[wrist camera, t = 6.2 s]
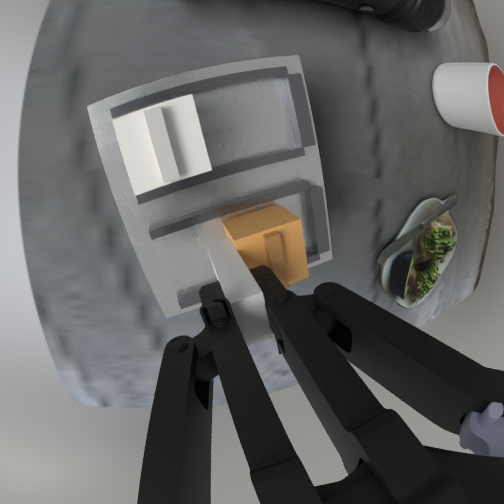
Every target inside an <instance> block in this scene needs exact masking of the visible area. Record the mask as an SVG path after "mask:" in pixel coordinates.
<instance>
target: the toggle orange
mask: <svg viewBox="0 0 504 504" xmlns="http://www.w3.org/2000/svg"><path fill="white" fill-rule="evenodd" d="M222 224H223V228H224V231H225V235H226V238H227V237H229V238H230V240H231V242H232V243H233V245H234V247H235V248H236V250H237V251H238V253H239V255H240V256H241V258H242V260H243V261H244V263H245V264H246V266H247V268H248V269H252V268H255V267H258V266H260V265H265V266H267V267H269V268H270V269H271V270H272V271H273V273H274V274H275V275H276V277H277V278H278V279H279V280H280V282H281V283H282V284H283V286H284V287H285V288H286V289H288V288H290V287H289V284H292V283H294V282H297V281H299V280H302V279H305V278H307V277H309V272H308V264H307V257H306V250H305V243H304V237H303V230H302V224H301V219H300V218H299V217H297V216H296V215H294V214H293V213H291V212H290V211H288V210H287V209H285V208H284V207H282V206H281V205H279V204H276V205H273V206H269V207H266V208H263V209H260V210H256V211H253V212H250V213H247V214H244V215H240V216H237V217H234V218H231V219H228V220H225V221H222Z"/></svg>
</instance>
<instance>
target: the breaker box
mask: <svg viewBox="0 0 504 504" xmlns="http://www.w3.org/2000/svg"><path fill="white" fill-rule="evenodd" d="M190 94H192V95H193V99H194V103H195V107H196V111H197V114H198V118H199V122H200V126H201V130H202V134H203V138H204V141H205V145H206V149H207V153H208V157H209V160H210V164H211V168H212V170H211V171H208V172H204V173H201V174H198V175H195V176H192V177H188V178H185V179H182V180H179V181H176V182H173V183H170V184H167V185H164V186H161V187H158V188H156V189H153V190H150V191H147V192H144V193H142V194H139V195H136V196H135V194H134V191H133V188H132V185H131V182H130V179H129V176H128V173H127V169H126V166H125V163H124V160H123V157H122V153H121V150H120V146H119V143H118V140H117V136H116V132H115V129H114V125H113V121H112V120H114V119H116V118H119V117H121V116H124V115H127V114H129V113H132V112H135V111H138V110H141V109H143V108H146V107H149V106H152V105H156V104H159V103H162V102H165V101H168V100H172V99H175V98H179V97H182V96H186V95H190ZM87 108H88V112H89V116H90V120H91V124H92V128H93V132H94V135H95V139H96V142H97V146H98V149H99V153H100V156H101V159H102V162H103V166H104V169H105V172H106V175H107V178H108V181H109V184H110V187H111V190H112V193H113V196H114V198H115V201H116V204H117V207H118V209H119V212H120V215H121V217H122V220H123V223H124V225H125V228H126V230H127V233H128V235H129V238H130V240H131V243H132V245H133V247H134V250H135V252H136V254H137V257H138V259H139V261H140V264H141V266H142V268H143V270H144V273H145V275H146V277H147V279H148V281H149V284H150V286H151V288H152V290H153V292H154V294H155V296H156V298H157V300H158V303H159V305H160V307H161V309H162V311H163V313H164V315H165V317H166V318H169V317H172V316H175V315H178V314H181V313H184V312H187V311H190V310H193V309H196V308H199V307H201V305H202V303H201V299H200V295H199V291H200V289H201V286H204V285H207V284H210V283H213V282H216V281H218V280H217V277H216V274H215V271H214V268H213V265H212V262H211V259H210V256H209V253H208V249H207V246H206V244H209V243H212V242H215V241H218V240H221V239H224V238H226V235H225V231H224V228H223V224H222V221H225V220H228V219H231V218H234V217H237V216H240V215H244V214H247V213H250V212H253V211H256V210H260V209H263V208H266V207H269V206H273V205H276V204H279V205H281V206H282V207H284V208H285V209H287V210H288V211H290V212H291V213H293V214H294V215H296V216H297V217H299V218H300V219H301V224H302V230H303V237H304V243H305V250H306V257H307V264H308V268H310V267H313V266H315V265H318V264H321V263H323V262H326V261H328V260H331V259H332V249H331V238H330V229H329V220H328V211H327V203H326V195H325V188H324V181H323V174H322V167H321V161H320V155H319V149H318V143H317V137H316V132H315V126H314V121H313V116H312V111H311V106H310V101H309V97H308V92H307V87H306V83H305V79H304V74H303V70H302V66H301V62H300V58H299V55H292V56H280V57H269V58H261V59H253V60H246V61H239V62H233V63H227V64H222V65H217V66H212V67H207V68H202V69H198V70H193V71H189V72H185V73H181V74H178V75H174V76H170V77H167V78H163V79H160V80H156V81H153V82H150V83H147V84H144V85H141V86H138V87H135V88H132V89H129V90H127V91H124V92H121V93H118V94H116V95H113V96H111V97H108V98H106V99H103V100H101V101H99V102H96V103H94V104H92V105H89V106H87Z"/></svg>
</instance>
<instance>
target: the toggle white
mask: <svg viewBox="0 0 504 504" xmlns="http://www.w3.org/2000/svg"><path fill="white" fill-rule="evenodd" d="M112 121H113V125H114V129H115V132H116V136H117V140H118V143H119V146H120V150H121V153H122V157H123V160H124V163H125V166H126V169H127V173H128V176H129V179H130V182H131V185H132V188H133V191H134V194H135V196H136V195H139V194H142V193H144V192H147V191H150V190H153V189H156V188H158V187H161V186H164V185H167V184H170V183H173V182H176V181H179V180H182V179H185V178H188V177H192V176H195V175H198V174H201V173H204V172H208V171H211V170H212V168H211V164H210V160H209V157H208V153H207V149H206V145H205V141H204V138H203V134H202V130H201V126H200V122H199V118H198V114H197V111H196V107H195V103H194V99H193V95H192V94H190V95H186V96H182V97H179V98H175V99H172V100H168V101H165V102H162V103H159V104H156V105H152V106H149V107H146V108H143V109H141V110H138V111H135V112H132V113H129V114H127V115H124V116H121V117H119V118H116V119H114V120H112Z"/></svg>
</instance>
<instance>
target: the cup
mask: <svg viewBox="0 0 504 504" xmlns="http://www.w3.org/2000/svg"><path fill="white" fill-rule="evenodd" d="M432 92H433V98H434V101H435V105H436V107H437V110H438V112H439V113H440V115H441V117H442V118H443V119H444V120H445V121H446V122H447V123H448V124H449V125H451V126H453V127H457V128H463V129H469V130H474V131H479V132H484V133H489V134H494V135H498V136H503V137H504V73H503V71H502V70H501V68H500V67H499V66H498V65H497V64H495V63H477V62H459V63H443V64H441V65H439V66H438V67H437V68H436V70H435V72H434V74H433V79H432Z"/></svg>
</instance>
